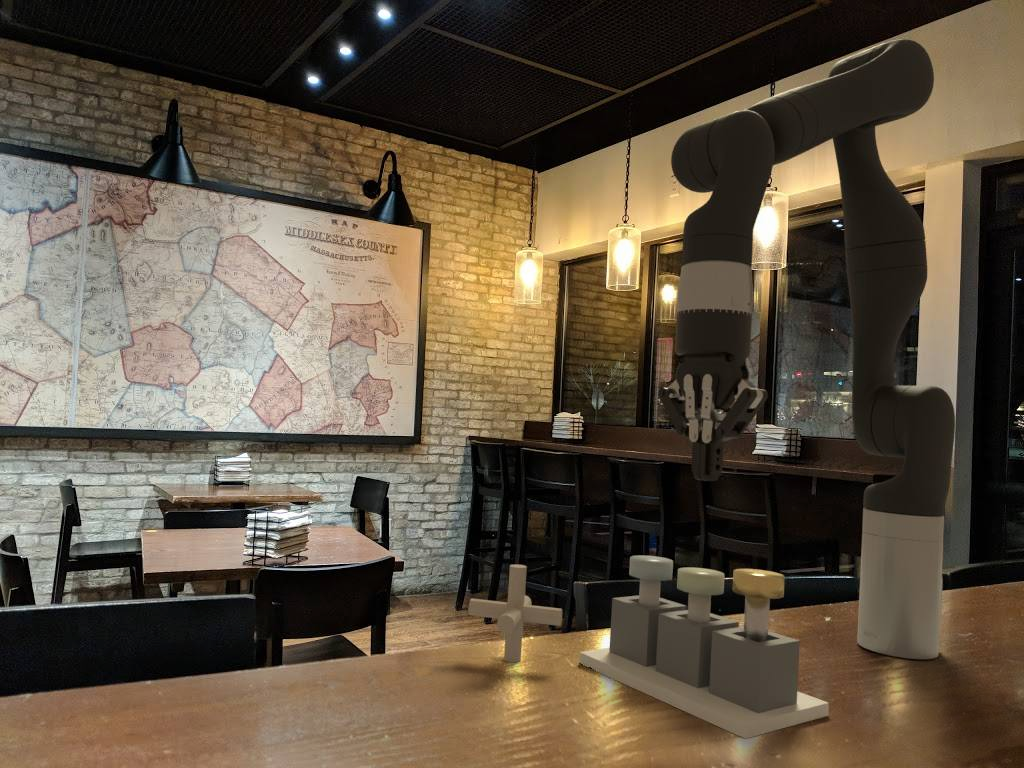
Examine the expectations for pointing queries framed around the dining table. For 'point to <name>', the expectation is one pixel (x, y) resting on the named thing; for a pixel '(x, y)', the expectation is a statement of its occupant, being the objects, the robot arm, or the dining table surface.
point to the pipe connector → (515, 613)
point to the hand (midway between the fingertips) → (705, 480)
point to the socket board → (706, 667)
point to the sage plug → (700, 590)
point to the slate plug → (650, 576)
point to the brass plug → (757, 599)
